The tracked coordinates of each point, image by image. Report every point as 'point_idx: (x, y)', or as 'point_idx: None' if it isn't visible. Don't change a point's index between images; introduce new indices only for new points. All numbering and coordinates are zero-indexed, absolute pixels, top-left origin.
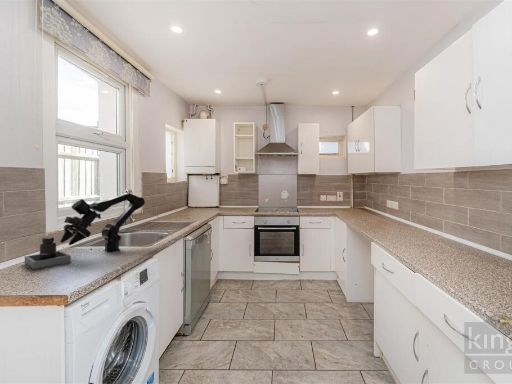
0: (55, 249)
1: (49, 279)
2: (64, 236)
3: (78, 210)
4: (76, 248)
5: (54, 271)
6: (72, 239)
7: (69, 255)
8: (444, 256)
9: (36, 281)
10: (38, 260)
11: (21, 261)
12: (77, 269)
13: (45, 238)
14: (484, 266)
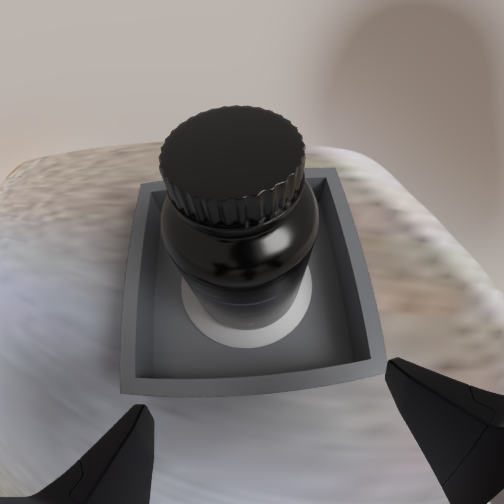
0: (194, 288)
1: (13, 243)
2: (443, 407)
3: None
4: None
5: (67, 278)
6: (90, 448)
7: (127, 388)
8: None
9: (30, 211)
10: (329, 246)
11: (399, 200)
12: (22, 358)
13: (194, 122)
14: None
